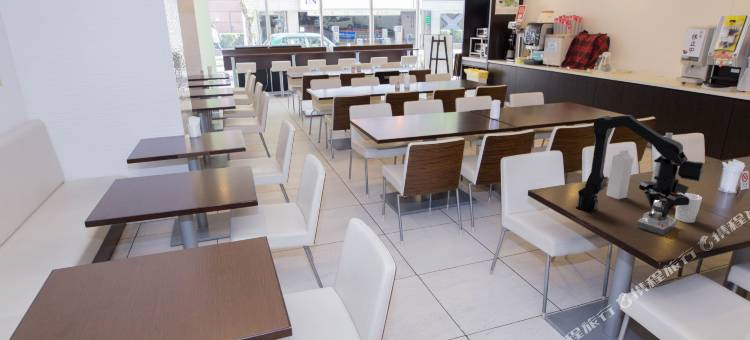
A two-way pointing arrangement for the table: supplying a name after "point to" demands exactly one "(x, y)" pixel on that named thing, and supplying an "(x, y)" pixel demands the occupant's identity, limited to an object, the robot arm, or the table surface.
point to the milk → (620, 175)
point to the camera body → (656, 224)
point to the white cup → (688, 208)
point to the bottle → (656, 167)
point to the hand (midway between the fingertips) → (658, 214)
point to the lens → (657, 209)
